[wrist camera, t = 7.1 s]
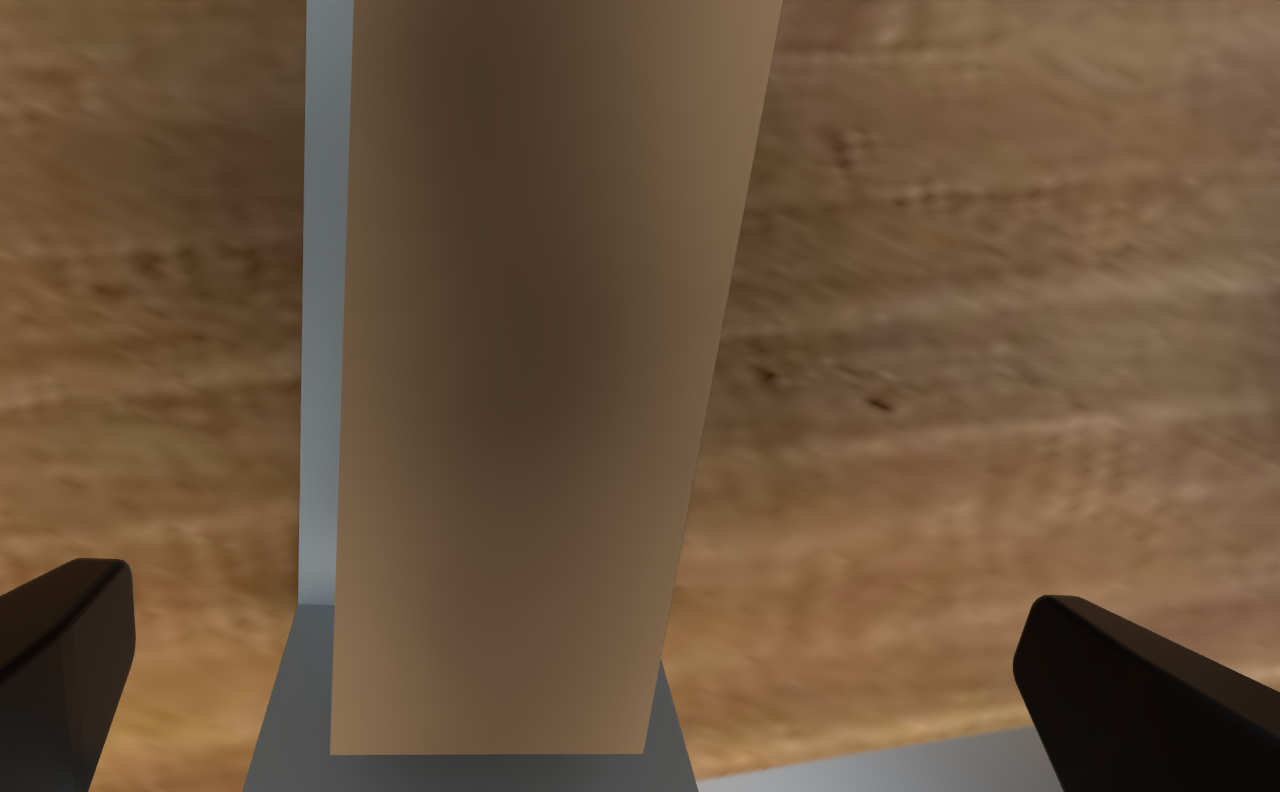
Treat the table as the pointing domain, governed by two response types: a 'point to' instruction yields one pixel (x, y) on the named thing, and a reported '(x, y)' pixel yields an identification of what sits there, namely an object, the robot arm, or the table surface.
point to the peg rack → (302, 694)
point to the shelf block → (529, 357)
